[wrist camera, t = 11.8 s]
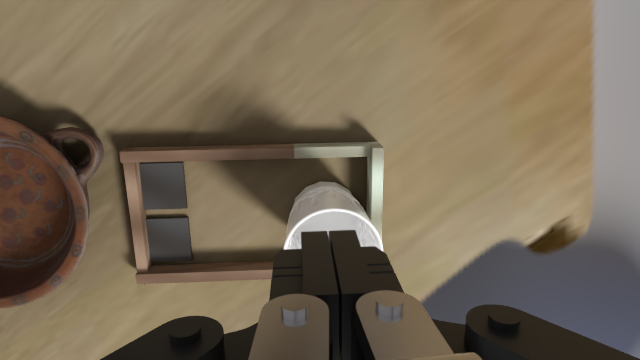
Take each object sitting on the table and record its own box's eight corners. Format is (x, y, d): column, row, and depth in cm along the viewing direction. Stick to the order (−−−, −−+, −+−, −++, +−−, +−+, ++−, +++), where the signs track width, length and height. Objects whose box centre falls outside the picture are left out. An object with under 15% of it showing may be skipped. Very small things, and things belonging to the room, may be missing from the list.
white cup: (298, 165, 44) (299, 196, 34) (375, 187, 45) (397, 224, 35) (275, 238, 46) (270, 287, 36) (349, 258, 47) (364, 311, 37)
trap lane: (127, 147, 42) (114, 154, 39) (377, 141, 43) (383, 147, 41) (143, 274, 46) (133, 289, 43) (375, 265, 47) (380, 279, 44)
